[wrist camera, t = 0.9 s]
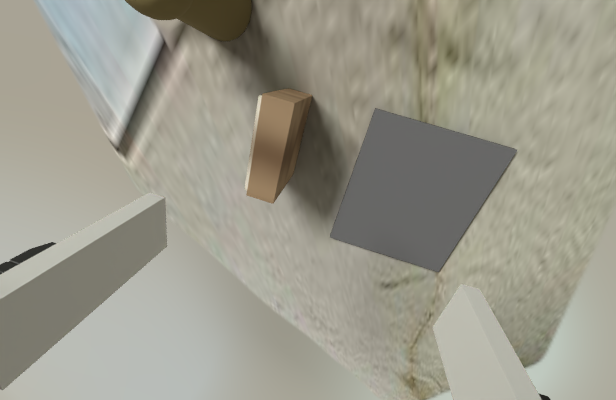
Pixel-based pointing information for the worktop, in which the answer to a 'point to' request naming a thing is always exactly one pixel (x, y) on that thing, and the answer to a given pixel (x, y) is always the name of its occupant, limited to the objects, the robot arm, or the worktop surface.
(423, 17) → the worktop surface
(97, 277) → the robot arm
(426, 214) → the mat
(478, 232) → the worktop surface
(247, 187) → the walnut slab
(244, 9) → the cork
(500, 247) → the worktop surface
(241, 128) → the worktop surface
